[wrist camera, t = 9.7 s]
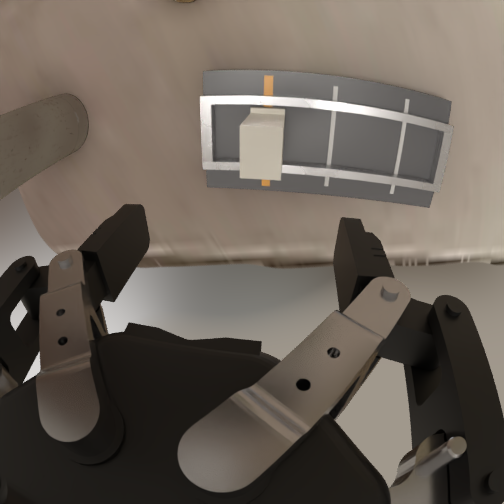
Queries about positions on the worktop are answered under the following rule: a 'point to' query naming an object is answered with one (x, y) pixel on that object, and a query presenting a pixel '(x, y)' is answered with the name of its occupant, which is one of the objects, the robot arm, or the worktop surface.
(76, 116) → the thermos bottle
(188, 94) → the worktop surface
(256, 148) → the block
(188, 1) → the sprinkles bottle
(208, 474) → the robot arm
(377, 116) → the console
